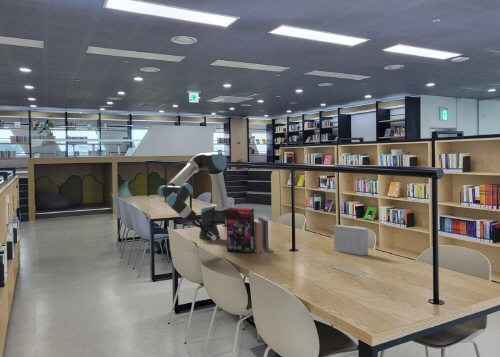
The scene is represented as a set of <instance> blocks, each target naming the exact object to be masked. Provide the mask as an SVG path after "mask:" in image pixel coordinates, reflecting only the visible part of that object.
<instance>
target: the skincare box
mask: <svg viewBox="0 0 500 357" xmlns="http://www.w3.org/2000/svg"><path fill="white" fill-rule="evenodd" d="M333 251H334V252H339V253H340V252H341V253H347V254H353V255H359V256H366V255H368V254H369V228H367V227H359V226H349V225H342V224H341V225H340V224H336V225H334V226H333Z"/></svg>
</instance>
